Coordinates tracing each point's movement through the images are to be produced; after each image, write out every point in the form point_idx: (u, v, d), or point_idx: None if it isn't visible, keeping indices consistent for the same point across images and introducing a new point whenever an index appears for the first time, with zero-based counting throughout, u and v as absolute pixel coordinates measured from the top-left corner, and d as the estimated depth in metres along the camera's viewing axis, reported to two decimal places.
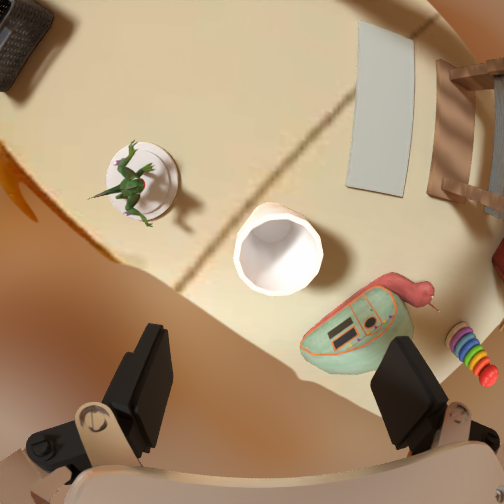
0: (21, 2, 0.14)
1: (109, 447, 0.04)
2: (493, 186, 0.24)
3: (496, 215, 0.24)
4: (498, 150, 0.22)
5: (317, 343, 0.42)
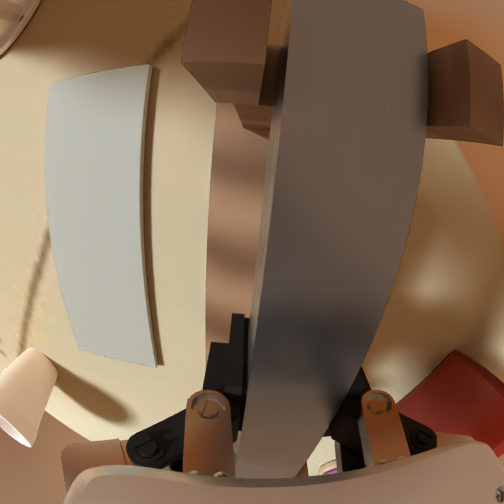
0: None
1: (211, 436, 0.06)
2: None
3: None
4: None
5: None
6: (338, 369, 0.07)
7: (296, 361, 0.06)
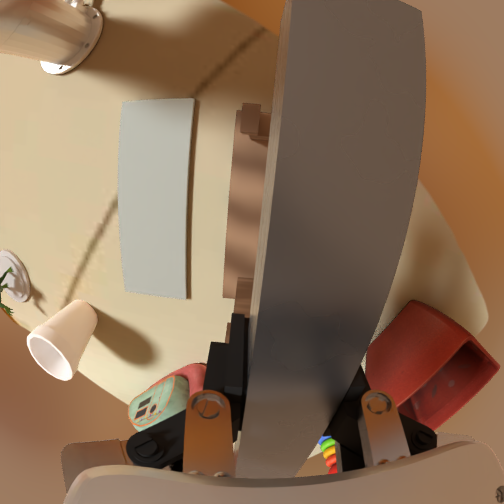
0: None
1: (211, 436, 0.06)
2: None
3: None
4: None
5: (133, 408, 0.43)
6: (337, 367, 0.07)
7: (295, 359, 0.06)
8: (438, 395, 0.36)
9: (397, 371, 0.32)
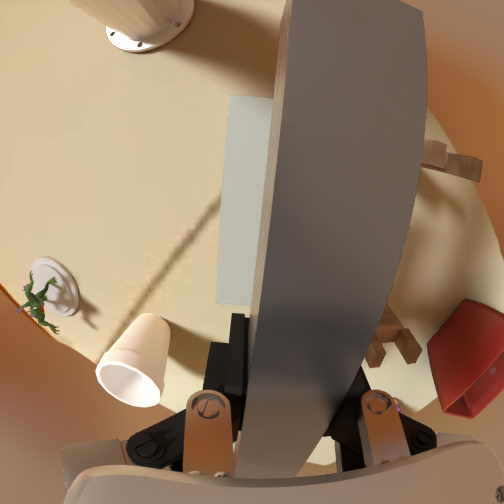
0: None
1: (211, 436, 0.06)
2: None
3: None
4: None
5: None
6: (337, 369, 0.07)
7: (295, 361, 0.06)
8: (482, 381, 0.36)
9: (463, 360, 0.32)
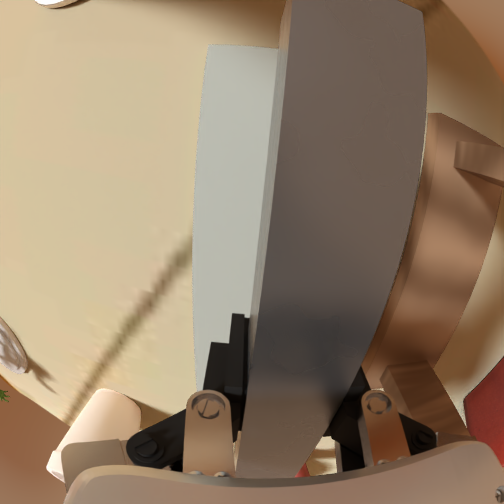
0: None
1: (211, 436, 0.06)
2: None
3: None
4: None
5: None
6: (337, 370, 0.07)
7: (295, 361, 0.06)
8: None
9: None
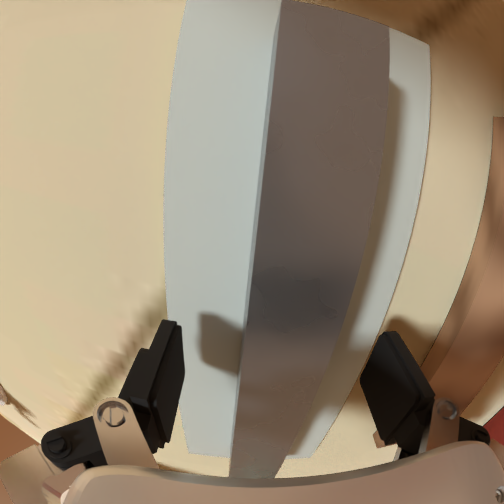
0: None
1: (125, 443, 0.05)
2: None
3: None
4: None
5: None
6: (321, 330, 0.08)
7: (284, 320, 0.08)
8: None
9: None
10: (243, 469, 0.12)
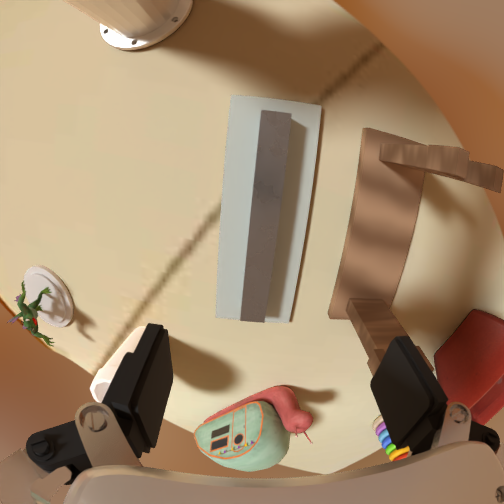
0: None
1: (109, 447, 0.04)
2: None
3: None
4: None
5: (203, 437, 0.40)
6: (274, 203, 0.27)
7: (263, 198, 0.27)
8: (488, 392, 0.33)
9: (472, 373, 0.29)
10: (249, 301, 0.32)
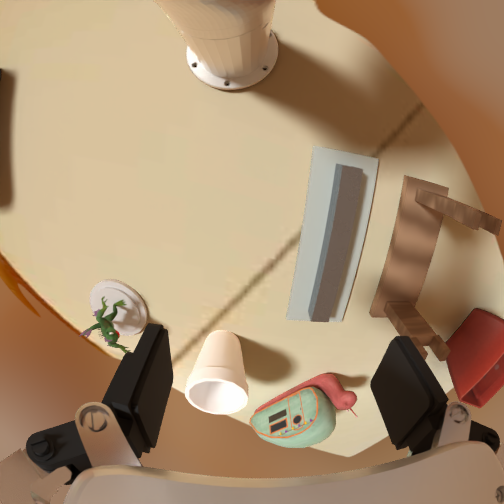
0: None
1: (109, 447, 0.04)
2: (313, 293, 0.42)
3: (311, 319, 0.42)
4: (320, 263, 0.40)
5: (260, 423, 0.49)
6: (346, 234, 0.36)
7: (339, 231, 0.36)
8: (488, 376, 0.42)
9: (474, 358, 0.38)
10: (320, 306, 0.40)
